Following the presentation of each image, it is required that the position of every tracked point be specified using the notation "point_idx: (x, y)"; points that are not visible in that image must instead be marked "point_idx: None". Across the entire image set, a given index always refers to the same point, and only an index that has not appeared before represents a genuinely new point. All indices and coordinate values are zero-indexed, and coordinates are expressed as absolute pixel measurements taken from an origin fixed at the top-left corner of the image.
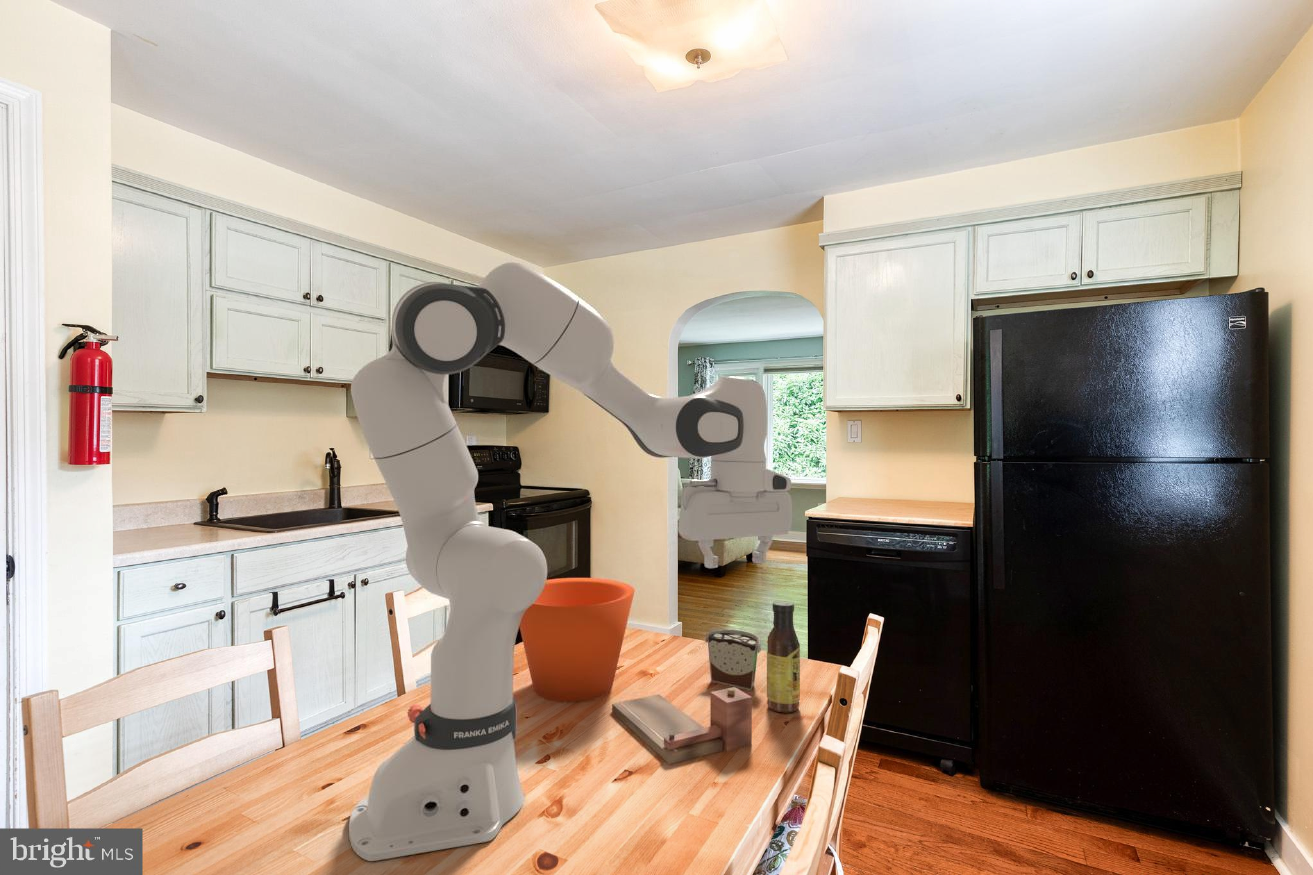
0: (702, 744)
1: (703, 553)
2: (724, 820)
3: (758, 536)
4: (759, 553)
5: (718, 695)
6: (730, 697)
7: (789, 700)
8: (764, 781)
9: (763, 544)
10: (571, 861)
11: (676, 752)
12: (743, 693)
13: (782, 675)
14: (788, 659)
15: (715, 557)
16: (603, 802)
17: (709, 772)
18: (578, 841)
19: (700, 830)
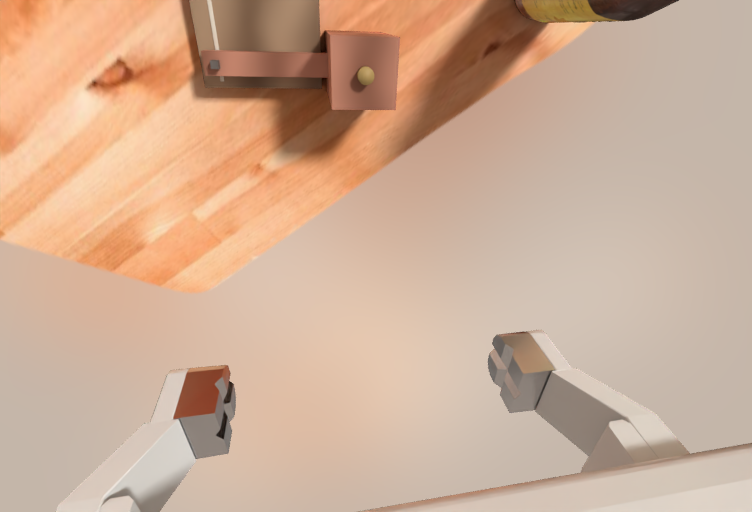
0: (281, 80)
1: (133, 441)
2: (230, 241)
3: (622, 453)
4: (512, 410)
5: (336, 65)
6: (354, 89)
7: (539, 20)
8: (327, 193)
9: (587, 428)
10: (10, 238)
11: (221, 84)
12: (393, 83)
13: (560, 8)
14: (594, 17)
15: (207, 453)
16: (64, 140)
17: (264, 138)
18: (19, 208)
19: (193, 246)
